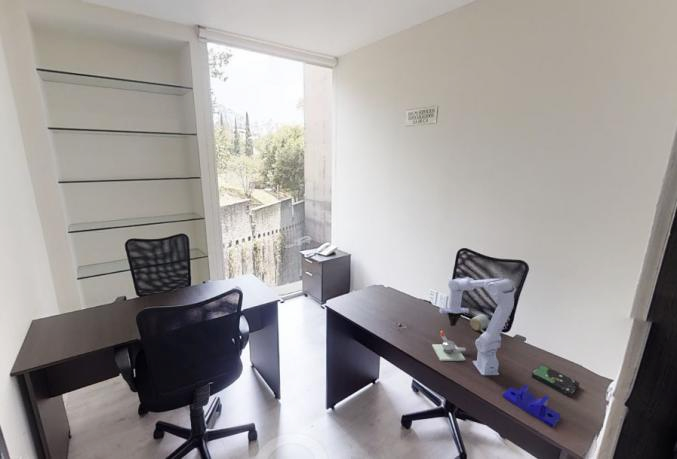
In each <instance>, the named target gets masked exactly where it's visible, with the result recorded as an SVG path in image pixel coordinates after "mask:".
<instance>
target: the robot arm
mask: <svg viewBox="0 0 677 459" xmlns="http://www.w3.org/2000/svg"><path fill="white" fill-rule="evenodd" d="M475 288H484V289H485V291H486V292H488V294H489V296H490V297H491V299H492V300H493V301H494V302H495V304H497V306H496V308H495V311H494V313H493V315H492V317H491V319H490V320H489V322H490V323H489V325H488V327H487V328H486V330H484V331H485V332H484V333H483V332H482V334H480V336H479V337H478V338H477V339H476V340H475V343H474V344H475V347H476V349H477V357H476V360H472V363H473V365H474V366H475V368H476V369H477V370H478V371H479V373H480V374H481V376H499V375H500V373H499V366H500V365H499V360H498V358H497V355H496V354H497V351H498V349H500V348H501V346H502V345H501V341H502V339H503V338H502V337H501V333H502V331H503V329H504V327H505V325H506V323H507V320H508V319H509V317H510V316H511V315H510V314H511V313H512V311H513V309H514V307H515V306H514V305H515V292H516V291H517V288H516V287H515V284H514V282H513V281H512V280H511V279H509V278H504V279H503V278H486V279H477V280H476V279H474V278H472V277H469V276H465V277H464V278H462V277H458V278H454V279H450V280H448V289H449V297H448V298H449V299H448V300H449V302H448V306H446V307H440V308H439V311H438V312H439V313H440V314H447V316H448V319H449V325H450V326H451V327H456V326H457V322H458V321H459V319H461V317H462V314H463V313H465V314H469V313H470V312H469V311H470V309H469V308H468V307H461V306H462V300H463V298H462V297H463V293H464V291H473V290H474V289H475ZM461 313H462V314H461Z"/></svg>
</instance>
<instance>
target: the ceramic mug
mask: <svg viewBox="0 0 677 459" xmlns="http://www.w3.org/2000/svg"><path fill="white" fill-rule="evenodd" d="M489 323H490V319H489V318H488V316H487V315H485V314H482V313H480V314H479V315H476V316H474V317H472V318H470V321H469V325H470V326H471V328H472V329H473V330H474V331H478V332H479V331H480V332H482V334H483V333H484V332H485V331H486V330H484V329H487V327H488V325H489Z"/></svg>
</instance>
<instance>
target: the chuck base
mask: <svg viewBox="0 0 677 459" xmlns="http://www.w3.org/2000/svg"><path fill="white" fill-rule="evenodd" d="M431 346H432V348H433V351H434V352H435V353H436V356H437V357H438V359H439V361H440V362H446V361H448V362H449V361H450V362H451V361H452V362H453V361H454V362H457V361H463V362H464V361H466V358H465V356H464V355H463V354H462V352H466V351H467V349H466V347H458V346H457V344H455V350H453V351H448V350H446V349H444V348H443V347H442V344H441V343H439V344H437V343H434V344H432V345H431Z"/></svg>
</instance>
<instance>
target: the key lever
mask: <svg viewBox="0 0 677 459" xmlns="http://www.w3.org/2000/svg"><path fill="white" fill-rule="evenodd" d="M439 337H440V338H441V339H442V340H443V341H442V347H443V348H444V349H446V350H448V351H453V350H455V345H456V343H455V342H454V341H452V340H450V339H448V338H447V337H446V335H445V331H444V330H442V329H441V330H440V332H439Z"/></svg>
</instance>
